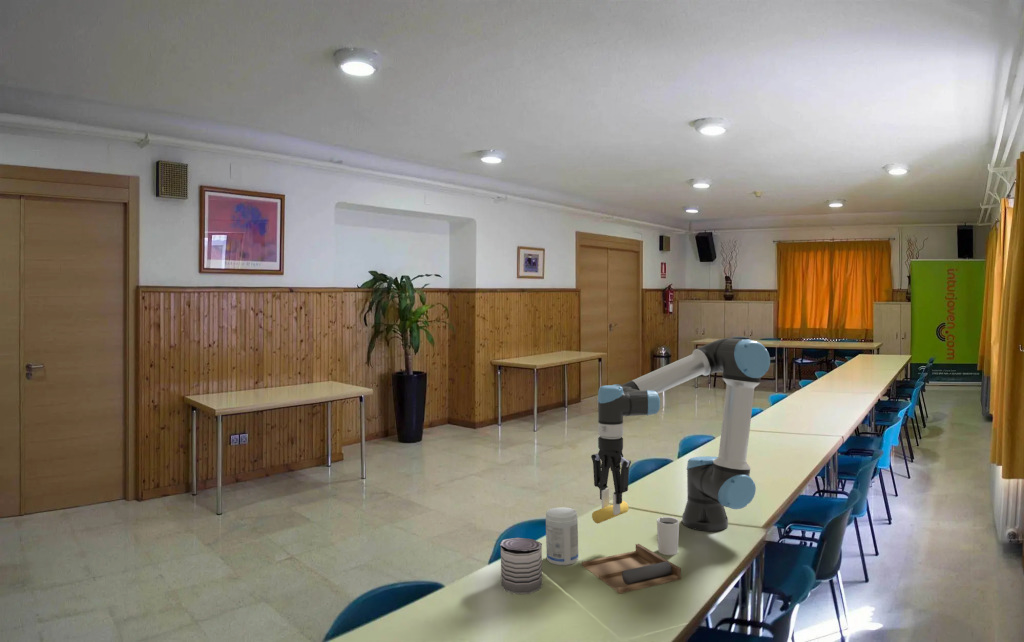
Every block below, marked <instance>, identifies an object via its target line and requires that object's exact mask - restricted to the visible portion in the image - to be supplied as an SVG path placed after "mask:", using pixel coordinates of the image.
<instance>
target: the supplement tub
mask: <svg viewBox="0 0 1024 642" xmlns="http://www.w3.org/2000/svg"><path fill="white" fill-rule="evenodd" d="M578 525H579V524H578V512H577V510H576V509H573V508H570V507H562V506H561V507H559V506H558V507H553V508H549V509H548V510H547V511H546V512H545V538H546V539H545V541H546V545H545V547H546V559H547V561H548V562H549V563H551V564H553V565H557V566H570V565H573V564H575V563H577V562H578V561H579V531H578V529H579V528H578Z"/></svg>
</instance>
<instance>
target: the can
mask: <svg viewBox="0 0 1024 642" xmlns="http://www.w3.org/2000/svg"><path fill="white" fill-rule="evenodd" d="M499 545H500V572H501V573H500V576H501V577H500V583H501V584H500V585H501V587H502V589H503V590H504V591H505V592H506V593H507V592H508V593H511V594H513V595H530V594H533V593H535V592H538V591H540V589H541V587H542V585H543V555H542V554H543V553H542V551H543V550H542V549H543V548H542V545H543V543H542V542H540V541H538V540H535V539H534V538H533V539H532V538H524V537H513V538H505V539H503V540H501V542H500V543H499Z"/></svg>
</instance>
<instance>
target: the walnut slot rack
mask: <svg viewBox="0 0 1024 642" xmlns="http://www.w3.org/2000/svg"><path fill="white" fill-rule="evenodd" d="M666 561H667V562H669V564H670V565H671V568H672V573H671V574H670V575H667V576H662V577H658V578H654V579H649V580H645V581H641V582H636V583H632V584H625V582H624V581H623V578H622V572H623V571H624V570H629V569H634V568H638V567H643V566H648V565H652V564H657V563H661V562H666ZM581 566H582V567H583V568H585V569H586V570H587V571H588V572H590V573H592V574H593V575H594V576H595V577H597V578H598V579H600V581H602V582H604V583H605V584H606V585H607V586H609V587H610V588H612V589H613V590H615V591H616V592H617V593H619V594H624V593H627V592H632V591H636V590H640V589H644V588H648V587H654V586H657V585H662V584H666V583H670V582H674V581H679V580H681V579H682V568H681V567H679V566H678V565H676V564H674V563H672V562H671V561H669V560H667V559H666V558H664V557H662V556H661V555H660V554H657V553H656V552H654V551H652V550H651V549H648V548H647V547H645V546H644V545H642V544H640V543H635V550H633V551H628V552H623V553H619V554H614V555H609V556H604V557H599V558H594V559H589V560H584V561H583V560H582V562H581Z"/></svg>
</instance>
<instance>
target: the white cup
mask: <svg viewBox="0 0 1024 642" xmlns="http://www.w3.org/2000/svg"><path fill="white" fill-rule="evenodd" d="M656 530H657V548H658V549H657V550H658V553H659V554H661V555H664V556H665V555H666V556H674V555H677V554H678V553H679V552H678V551H679V533H680V532H679V531H680V520H679V519H677V518H675V517H672V516H662V517H658V518H657V519H656Z"/></svg>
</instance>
